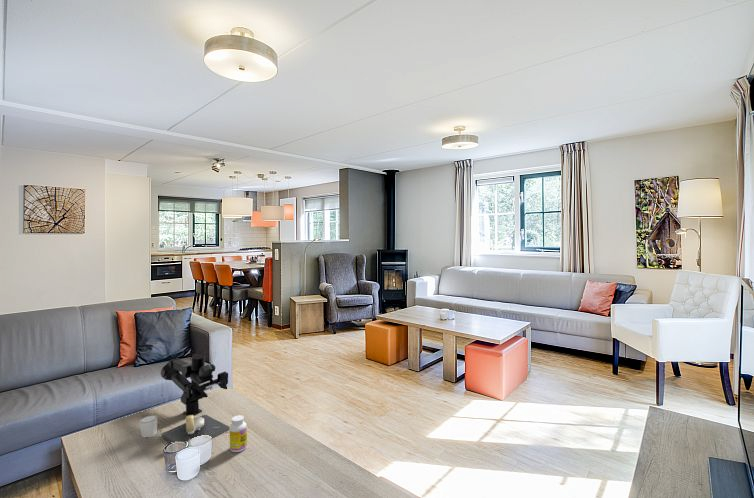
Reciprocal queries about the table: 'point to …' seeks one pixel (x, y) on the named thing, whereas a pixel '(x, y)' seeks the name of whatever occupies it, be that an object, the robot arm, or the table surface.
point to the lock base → (204, 430)
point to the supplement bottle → (238, 434)
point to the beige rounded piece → (193, 423)
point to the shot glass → (148, 426)
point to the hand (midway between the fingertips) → (217, 392)
